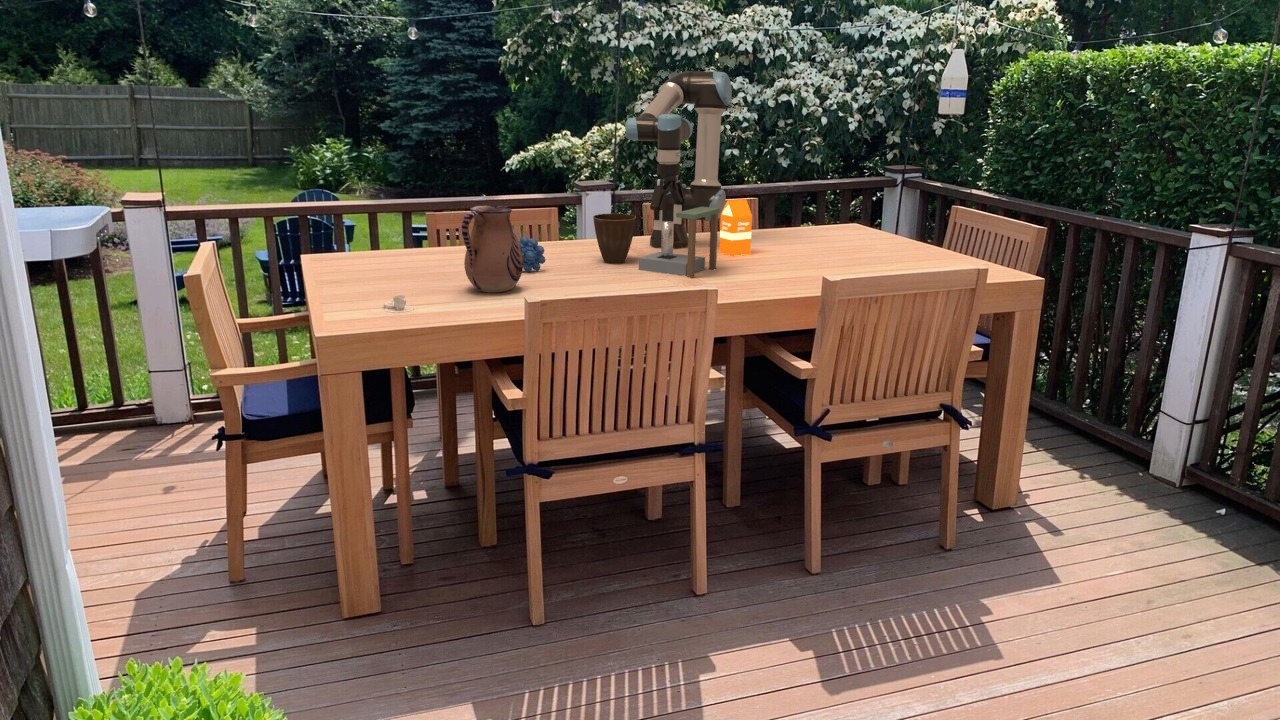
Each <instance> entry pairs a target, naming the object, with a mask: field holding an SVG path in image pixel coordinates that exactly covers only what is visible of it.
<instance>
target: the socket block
mask: <svg viewBox="0 0 1280 720" xmlns="http://www.w3.org/2000/svg"><path fill="white" fill-rule="evenodd" d="M687 263H688V254H679V253H673V258H672V259H664V258H661V251H657V252H654V253H652V254H648V255H644V256H641V257H638V271H644V272H653V273H659V272H661V273H660V274H667V273H669V275H674V274H677V275H676V276H682V275H685V276H684V277H687V276H686V275H687ZM705 266H706V257H705V256H697V255H695V273H698V272H700V271H702V270H705Z"/></svg>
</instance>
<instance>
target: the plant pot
mask: <svg viewBox="0 0 1280 720" xmlns="http://www.w3.org/2000/svg"><path fill="white" fill-rule="evenodd" d="M592 218H593V219H592V220H593V225H594V232H595V236H596V240H597V241H596V242H597V244H598V248H599V252H600V254H601V257H602V260H603V262H604V263H605V264H611V265H612V264H613V265H619V264H623V263H625V262H626V259H627V257H628V255H629V252H630V248H631V245H632V241H633V238H634V233H635V229H636V228H635V227H636V221H637V216H636V215H634V214H629V213H600V214H595V215H593V216H592Z"/></svg>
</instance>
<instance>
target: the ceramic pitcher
mask: <svg viewBox="0 0 1280 720" xmlns="http://www.w3.org/2000/svg"><path fill="white" fill-rule="evenodd" d="M469 210H470V211H469V212H467V213H466V214H465V215H464V217H463V219H462V222H461V235H462V239H463V244H464V246H465V248H466V250H465V256H464V261H463V262H464V271H465V274H466V276H467V279H468V280H469V282H470V284H472V286H473V287H474V288H476V289H477V290H478V291H479V292H484V293H492V294H493V293H502V292H507V291H510V290H511V289H513V288H514V287H515V286H516V285H517V284H518V282H519V281H520V279H521V277H522V273H523V270H524V269H523V259H522V253H521V250H520V245H519V242H520V241H519V240H518V237H517V232H516V230H515V228H514V227H513V224H512V222H511V212H513V211H512V209H511V208H509V206H508V205H497V206H491V205H486V204H485V205H475V206H474V207H471V208H470V209H469ZM472 220H473V226H472V229H471V233H470V231H469V227H470V224H471V221H472ZM518 241H519V242H518Z"/></svg>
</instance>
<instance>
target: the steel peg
mask: <svg viewBox="0 0 1280 720" xmlns="http://www.w3.org/2000/svg"><path fill="white" fill-rule="evenodd" d="M673 230H674V222H673V221H662V237H661V248H660V252H661V258H664V259H672V258H673V254H674V248H673Z"/></svg>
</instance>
